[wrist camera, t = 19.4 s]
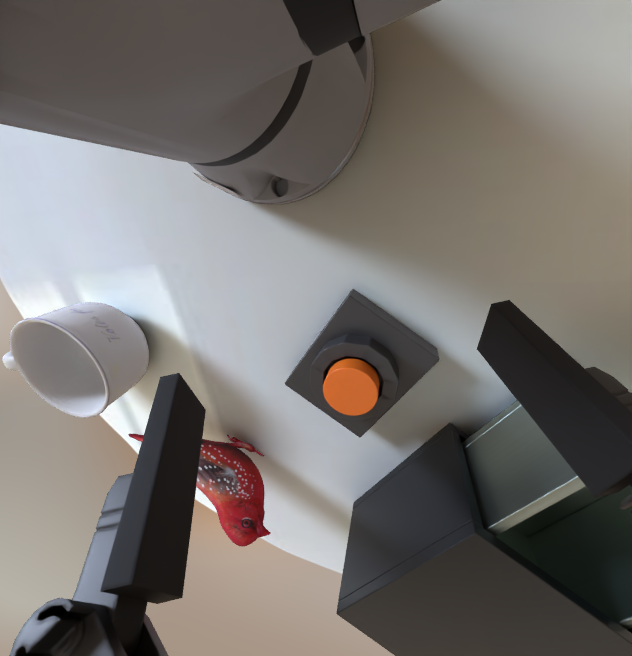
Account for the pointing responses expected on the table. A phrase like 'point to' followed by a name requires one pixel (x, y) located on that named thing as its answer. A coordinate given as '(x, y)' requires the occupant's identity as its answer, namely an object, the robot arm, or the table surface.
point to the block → (364, 358)
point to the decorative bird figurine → (232, 488)
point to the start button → (351, 387)
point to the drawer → (552, 512)
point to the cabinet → (456, 573)
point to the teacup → (79, 356)
